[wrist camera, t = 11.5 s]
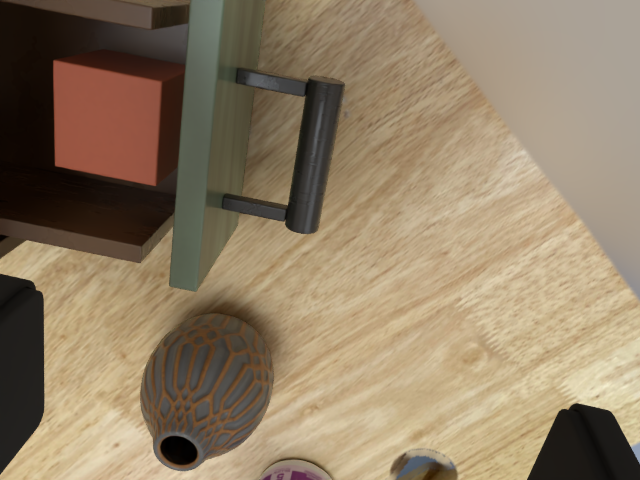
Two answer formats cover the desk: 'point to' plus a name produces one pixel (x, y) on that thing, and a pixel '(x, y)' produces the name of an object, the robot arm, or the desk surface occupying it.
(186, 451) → the vase
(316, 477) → the pill bottle
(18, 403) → the robot arm
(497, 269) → the desk surface
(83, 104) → the block
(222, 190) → the drawer
